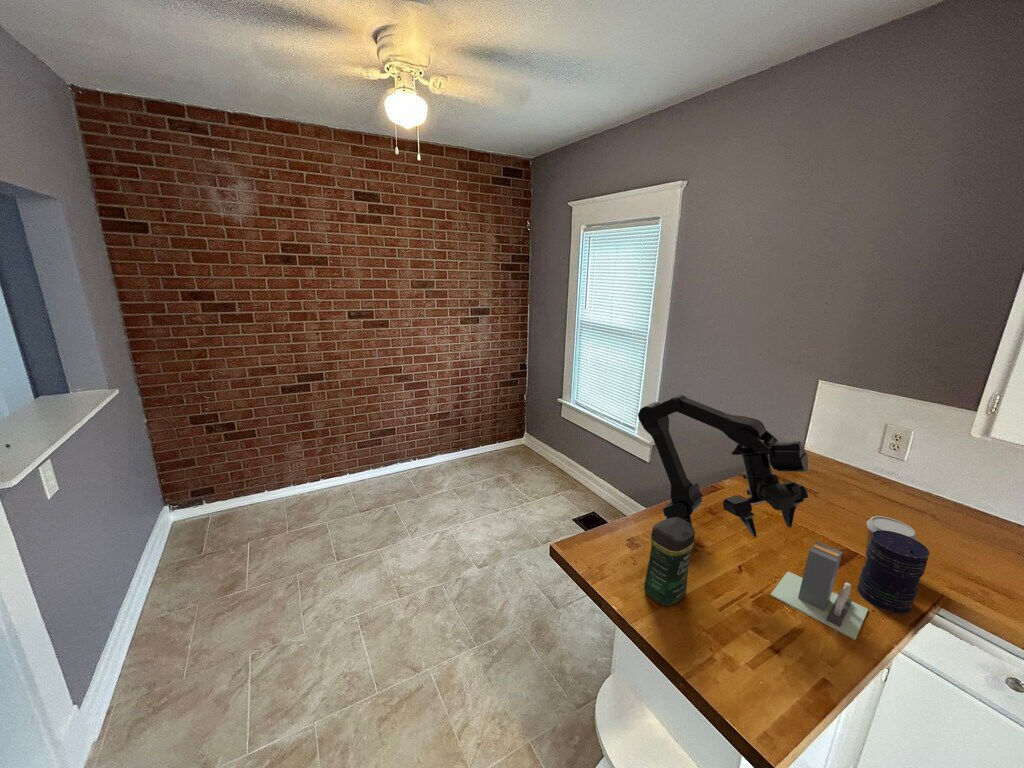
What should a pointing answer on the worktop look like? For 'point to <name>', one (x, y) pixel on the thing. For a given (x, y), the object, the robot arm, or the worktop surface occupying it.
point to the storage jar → (892, 571)
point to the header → (837, 611)
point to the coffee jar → (669, 560)
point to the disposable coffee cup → (887, 528)
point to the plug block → (819, 575)
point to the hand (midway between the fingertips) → (771, 531)
